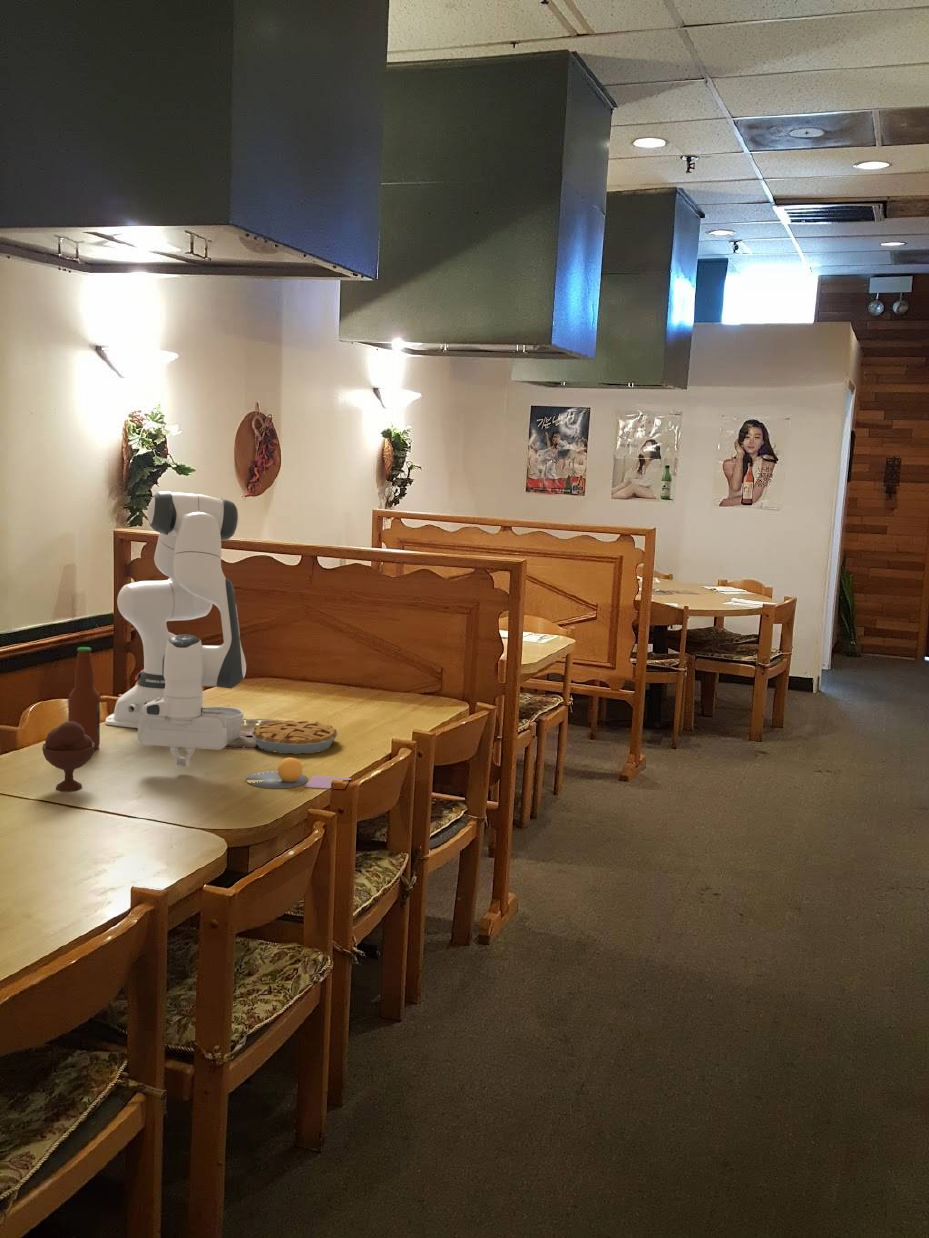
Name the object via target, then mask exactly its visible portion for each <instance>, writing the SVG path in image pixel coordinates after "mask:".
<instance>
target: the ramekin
mask: <svg viewBox="0 0 929 1238" xmlns="http://www.w3.org/2000/svg"><path fill="white" fill-rule="evenodd" d="M203 708H210V709H221V710H222V711H223V712H225V713H226V714H227V716H228V724H227V726H226V729H227V741H229V742H233V741H235V739H236V740H237V739H238V737H239V736H240V734H241V729H242V722H243V718H244V711H243V710H241V709H239V708H236V707H229V706H206V707H204V706H203ZM221 714H223V713H221Z"/></svg>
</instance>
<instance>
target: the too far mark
mask: <svg viewBox="0 0 929 1238" xmlns="http://www.w3.org/2000/svg"><path fill="white" fill-rule="evenodd" d="M332 780H352V778H351V777H337V776H321V775H312V777H311V778H310V779H309V780H308V781H307V782H306V785H304V786H305V787H304V788H307V789H321V790H331V789H330V788H331V781H332Z"/></svg>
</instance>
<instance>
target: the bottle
mask: <svg viewBox="0 0 929 1238" xmlns="http://www.w3.org/2000/svg"><path fill="white" fill-rule="evenodd" d="M76 651H77V655H76V657H77V660H76V661H77V662H76V666H75V672H74V687H73V689H71V691H70V693H69V696H68V700H67V701H68V704H67V705H68V706H67V708H68V709H67V713H68V715H67V716H68V718H67V719H68V721H74V722H77V723H79V724H80V725H81V726H82V727H83V728H84V734H86V735H88V736H89V737H91V739H92V741H93V742H94V743H95V747H94V750H96V749H98V748H99V747H100V742H101V741H100V740H101V738H100V737H101V735H100V734H101V729H100V727H101V726H100V724H101V723H100V722H101V709H100V708H101V697H100V694H99V691H98V690H97V689H96V688H95V686H94V678H95V677H94V669H93V665H92V664H93V663H92V660H91V658H92V654H91V652H92V648H91V647H88V646H79V647H77V649H76Z"/></svg>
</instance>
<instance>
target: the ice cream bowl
mask: <svg viewBox="0 0 929 1238" xmlns="http://www.w3.org/2000/svg"><path fill="white" fill-rule="evenodd" d="M94 747H95V743H94V742H93V741H92V739H91V737H89V736H88V735H86V734H84V728H83V727H82V726H81V725H80V724H79V723H77V722H74V721H65V722H63V723H60V725H59V726H58V727H57V726H56V727H55V728H53V729H51V731H49V732H48V733H47V737H46V738H45V742H44V743H43V745H42V747H41V749H42V753H43V757H44V758H45V760H46V761H47V762H48V763H49V764H50V765H52V766H53V767H55V768H56V769H60V770H63V772H64V780H62V781H61V782H59V783H58V784H56V786H55V790H56V791H60V792H75V791H78V790H81V789H82V788H83V785H82V783H81V782H79V781H77V780H75V779H74V771H75V770H76V769H79V768H81V767H83V766H84V765H86V764H87V763H88V762H89V761H90V760H91V759H92V757H93V755H94V752H95V749H94Z"/></svg>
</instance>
